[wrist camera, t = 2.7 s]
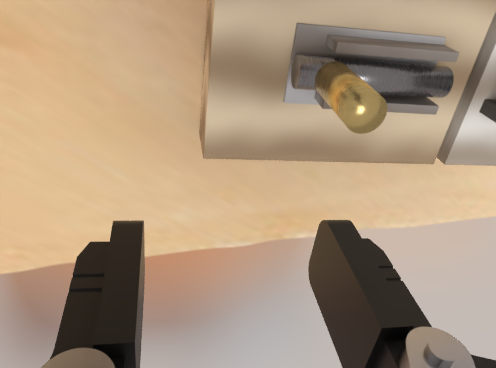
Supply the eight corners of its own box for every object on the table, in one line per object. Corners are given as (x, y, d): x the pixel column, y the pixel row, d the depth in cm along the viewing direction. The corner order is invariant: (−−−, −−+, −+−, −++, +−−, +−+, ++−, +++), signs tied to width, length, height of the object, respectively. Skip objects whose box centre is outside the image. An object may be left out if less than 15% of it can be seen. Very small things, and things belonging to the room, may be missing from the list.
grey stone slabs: (213, -79, 25) (230, -73, 19) (570, -29, 31) (682, -11, 24) (199, 133, 33) (208, 190, 26) (489, 143, 38) (557, 193, 31)
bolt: (295, 48, 26) (332, 90, 20) (440, 60, 28) (513, 101, 22) (288, 84, 27) (323, 132, 21) (429, 92, 29) (495, 139, 23)
